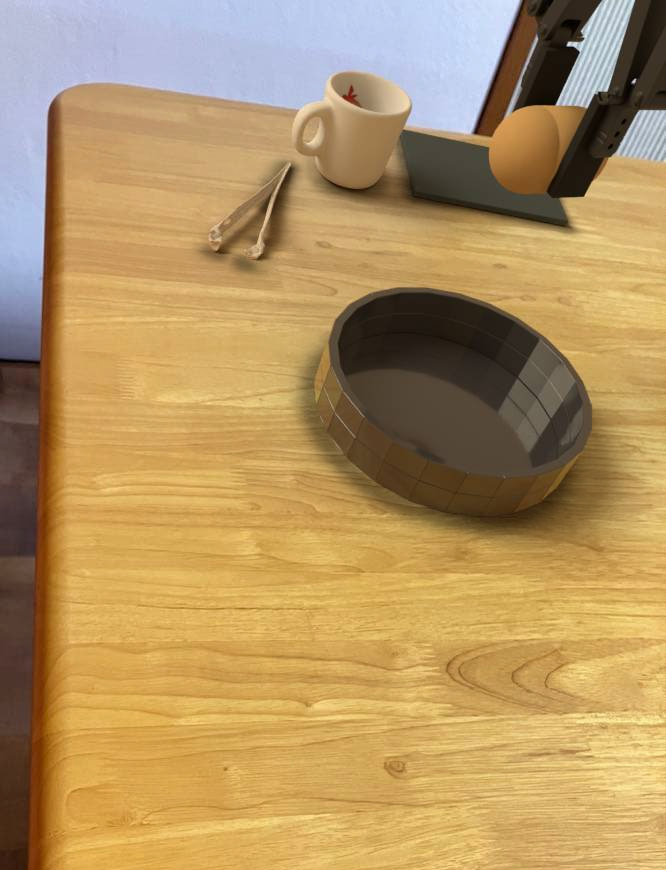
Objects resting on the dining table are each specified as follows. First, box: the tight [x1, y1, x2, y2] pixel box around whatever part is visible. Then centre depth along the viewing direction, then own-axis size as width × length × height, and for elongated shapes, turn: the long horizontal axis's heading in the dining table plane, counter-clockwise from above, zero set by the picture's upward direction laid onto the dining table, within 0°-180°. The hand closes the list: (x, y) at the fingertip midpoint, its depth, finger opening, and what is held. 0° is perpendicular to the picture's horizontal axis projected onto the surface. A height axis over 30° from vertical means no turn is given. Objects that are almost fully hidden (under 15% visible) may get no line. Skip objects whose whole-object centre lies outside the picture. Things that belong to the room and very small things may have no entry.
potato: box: [488, 105, 609, 194], centre depth 59 cm, size 9×5×5 cm, turn 112°
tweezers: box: [208, 161, 292, 260], centre depth 78 cm, size 17×5×2 cm, turn 162°
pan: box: [313, 286, 593, 517], centre depth 64 cm, size 19×19×4 cm
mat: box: [399, 128, 569, 227], centre depth 90 cm, size 16×12×1 cm
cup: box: [291, 70, 413, 190], centre depth 81 cm, size 11×8×8 cm
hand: (541, 168), depth 60 cm, fingers closed on potato, 5 cm apart
